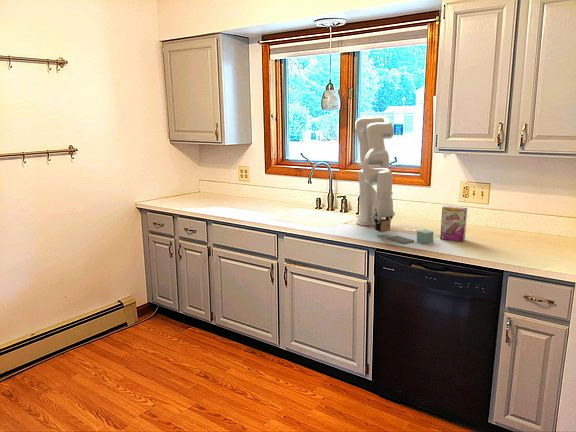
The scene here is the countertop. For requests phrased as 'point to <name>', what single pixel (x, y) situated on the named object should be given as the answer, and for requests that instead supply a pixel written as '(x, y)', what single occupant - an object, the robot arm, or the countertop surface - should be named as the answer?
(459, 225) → the candy bar box
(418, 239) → the teal block
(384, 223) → the walnut block
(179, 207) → the countertop surface
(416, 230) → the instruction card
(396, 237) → the mat
